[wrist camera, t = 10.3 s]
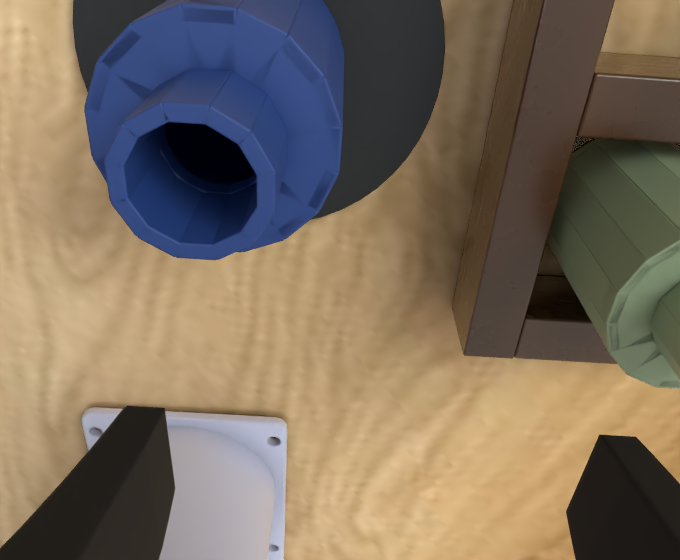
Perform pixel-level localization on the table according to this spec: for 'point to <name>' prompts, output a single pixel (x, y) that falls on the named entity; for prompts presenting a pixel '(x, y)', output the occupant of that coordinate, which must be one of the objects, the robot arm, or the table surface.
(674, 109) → the bottle rack
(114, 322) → the table surface
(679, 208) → the sage bottle
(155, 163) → the blue bottle
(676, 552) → the robot arm
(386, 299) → the table surface
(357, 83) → the coaster
